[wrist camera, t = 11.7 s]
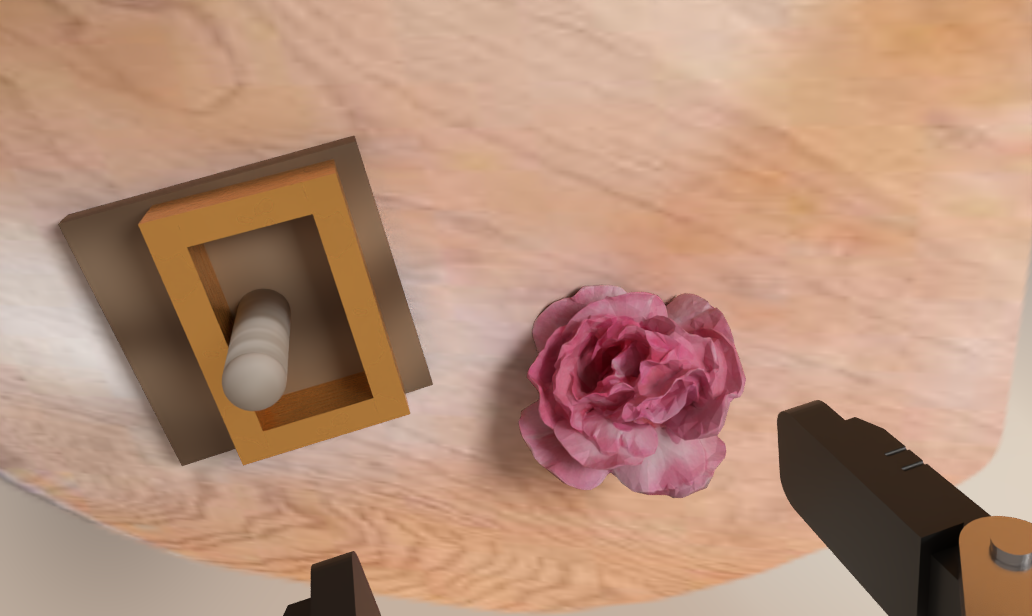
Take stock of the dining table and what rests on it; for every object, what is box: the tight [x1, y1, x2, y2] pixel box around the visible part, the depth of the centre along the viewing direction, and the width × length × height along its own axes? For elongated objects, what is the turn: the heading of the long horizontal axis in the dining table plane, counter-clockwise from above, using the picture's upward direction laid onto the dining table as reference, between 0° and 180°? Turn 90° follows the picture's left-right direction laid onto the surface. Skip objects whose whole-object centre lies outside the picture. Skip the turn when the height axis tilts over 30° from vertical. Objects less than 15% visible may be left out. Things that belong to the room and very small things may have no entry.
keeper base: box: [58, 136, 433, 466], centre depth 33 cm, size 13×13×10 cm
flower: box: [519, 285, 746, 498], centre depth 40 cm, size 11×10×10 cm
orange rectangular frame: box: [138, 159, 410, 465], centre depth 35 cm, size 12×8×3 cm, turn 12°
